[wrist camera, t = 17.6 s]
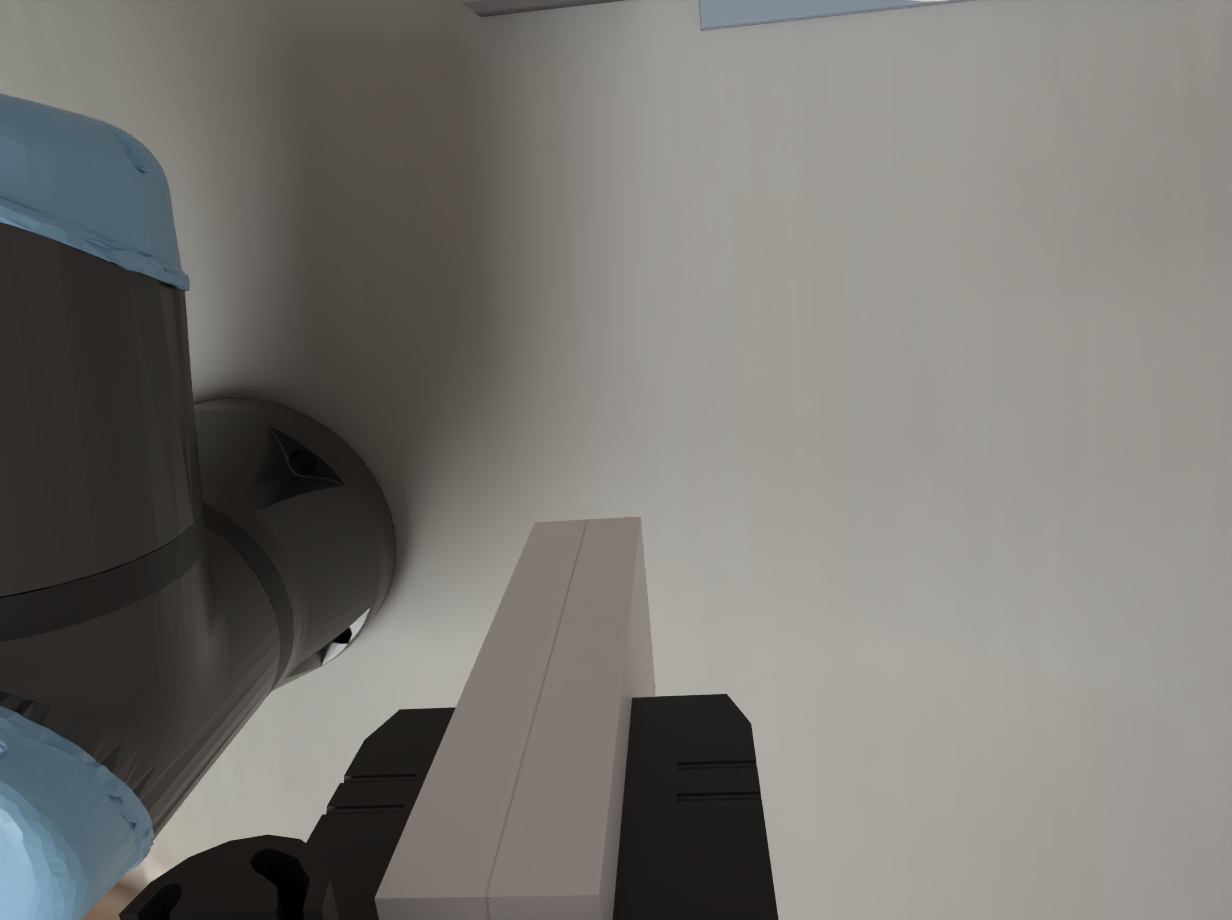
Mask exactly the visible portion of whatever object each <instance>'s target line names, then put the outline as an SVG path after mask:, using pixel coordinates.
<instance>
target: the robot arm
mask: <svg viewBox="0 0 1232 920" xmlns="http://www.w3.org/2000/svg"><path fill="white" fill-rule="evenodd" d="M189 284H190V282H189V278H188V275H186V274H185V273H184V272H183V271H182V268H181V261H180V255H179V249H178V243H177V237H176V231H175V225H174V219H173V211H172V204H171V196H170V189H169V185H168V182H167V178H166V176H165V174H164V171H163V169H162V167H161V166H160V164H159V162H158V161H157V159H156V158H155V157H154V156H153V154H152V153H151V152H150V151H149V150H148V149H147V148H146V147H145V146H144V145H143V144H142V143H141V142H139V141H138V140H137V139H136V138H134V137H133V136H131V135H130V134H128V133H127V132H125V131H123V130H121V129H119V128H117V127H115V126H113V125H111V124H108V123H106V122H103V121H100V120H97V119H94V118H91V117H87V116H84V115H80V114H77V113H73V112H70V111H66V110H62V109H59V108H55V107H51V106H48V105H44V104H41V103H36V102H32V101H28V100H24V99H20V98H16V97H12V96H8V95H4V94H0V920H82V919H83V918H84V917H85V916H86V915H87V914H88V913H89V912H90V911H91V910H92V908H93V907H94V906H95V905H96V904H97V903H98V902H99V901H100V900H101V899H102V898H103V896H104V895H105V894H106V893H107V892H108V891H109V890H110V889H111V888H112V887H113V886H114V885H115V884H116V883H117V882H118V881H119V880H120V879H121V878H122V877H123V876H124V875H125V874H126V873H127V872H129V871H131V870H133V869H135V868H136V867H137V866H138V865H139V864H140V863H141V862H142V861H143V860H144V858H145V857H146V856H147V854H148V853H149V851H150V847H151V846H152V845H153V842H152V841H153V840H154V839H155V837H156V836H157V835H158V834H159V832H160V831H161V830H162V828H163V827H164V826H165V825H166V823H167V822H168V821H169V820H170V818H171V817H172V816H173V814H174V813H175V812H176V811H177V809H178V808H179V807H180V806H181V804H182V803H183V802H184V800H185V799H186V798H187V797H188V795H189V794H190V793H191V792H192V790H193V789H194V788H195V786H196V785H197V784H198V783H199V781H200V780H201V779H202V778H203V776H204V775H205V774H206V773H207V771H208V770H209V769H210V768H211V766H212V765H213V764H214V763H215V761H216V760H217V759H218V758H219V756H220V755H221V754H222V753H223V751H224V750H225V749H226V748H227V746H228V745H229V744H230V743H231V741H232V740H233V739H234V738H235V736H236V735H237V734H238V733H239V731H240V730H241V729H242V728H243V726H244V725H245V724H246V723H247V721H248V720H249V719H250V718H251V716H252V715H253V714H254V713H255V711H256V710H257V709H258V708H259V706H260V705H261V704H262V702H263V701H264V700H265V698H266V697H267V696H268V695H269V693H270V692H271V691H273V690H275V689H277V688H279V687H281V686H283V685H285V684H287V683H289V682H291V681H293V680H295V679H297V678H299V677H301V676H303V675H305V674H307V673H309V672H311V671H313V670H315V669H317V668H319V667H321V666H323V665H324V664H326V663H328V662H329V661H331V660H333V659H334V658H335V657H337V656H338V655H340V654H341V653H342V652H343V651H344V650H346V649H347V648H348V647H349V646H350V645H351V644H352V643H353V642H354V641H355V640H356V639H357V638H358V637H359V636H360V634H361V633H362V632H363V630H364V629H365V628H366V626H367V625H368V623H369V622H370V621H371V619H372V618H373V617H374V615H375V614H376V612H377V611H378V609H379V608H380V606H381V604H382V603H383V601H384V599H385V597H386V594H387V592H388V589H389V587H390V584H391V580H392V576H393V571H394V566H395V548H396V547H395V535H394V528H393V523H392V519H391V515H390V512H389V508H388V506H387V503H386V500H385V498H384V496H383V494H382V491H381V489H380V487H379V486H378V484H377V482H376V480H375V478H374V477H373V475H372V474H371V472H370V471H369V469H368V468H367V467H366V465H365V464H364V463H363V461H362V460H361V459H360V458H359V457H358V456H357V454H356V453H355V452H354V451H353V450H352V449H351V448H350V447H349V446H348V445H347V444H346V443H345V442H344V441H343V440H341V439H340V438H339V437H338V436H337V435H335V434H334V433H333V432H331V431H330V430H329V429H327V428H326V427H324V426H323V425H321V424H320V423H318V422H317V421H315V420H313V419H311V418H310V417H308V416H306V415H304V414H302V413H299V412H297V411H295V410H292V409H290V408H287V407H284V406H281V405H278V404H274V403H270V402H266V401H261V400H254V399H245V398H224V399H215V400H210V401H205V402H201V403H197V404H193V394H192V382H191V368H190V355H189V341H188V328H187V314H186V301H185V291H189ZM119 917H120V920H778V914H777V906H776V899H775V892H774V885H773V878H772V871H771V863H770V856H769V849H768V842H767V835H766V828H765V820H764V813H763V806H762V800H761V792H760V784H759V777H758V770H757V766H756V756H755V749H754V741H753V734H752V727H751V723H750V722H749V720H748V719H747V718H746V717H745V716H744V714H743V713H742V712H741V711H740V710H739V708H738V707H737V706H736V705H735V703H734V702H733V701H732V700H731V699H730V697H729V696H728V695H727V694H714V695H687V696H660V697H655V677H654V666H653V654H652V643H651V631H650V619H649V608H648V596H647V585H646V573H645V561H644V550H643V538H642V527H641V517H625V518H608V519H590V520H573V521H556V522H538V523H534V525H533V528H532V530H531V532H530V535H529V537H528V540H527V542H526V544H525V547H524V549H523V551H522V554H521V556H520V558H519V561H518V563H517V565H516V568H515V570H514V572H513V575H512V577H511V579H510V582H509V584H508V586H507V589H506V591H505V593H504V596H503V598H502V600H501V603H500V605H499V608H498V610H497V612H496V615H495V617H494V619H493V622H492V624H491V626H490V629H489V631H488V633H487V636H486V638H485V640H484V643H483V645H482V647H481V650H480V652H479V654H478V657H477V659H476V661H475V664H474V666H473V669H472V671H471V673H470V676H469V678H468V680H467V683H466V685H465V687H464V690H463V692H462V694H461V697H460V699H459V701H458V704H457V706H456V708H429V709H402V710H399V711H398V712H397V713H395V714H394V715H393V716H392V717H391V718H390V719H388V720H387V721H386V722H385V723H384V724H383V725H381V726H380V727H379V728H378V729H377V730H376V731H375V732H373V733H372V734H371V735H370V736H369V737H368V738H366V739H365V740H364V742H363V744H362V745H361V747H360V749H359V751H358V752H357V754H356V756H355V758H354V760H353V761H352V763H351V765H350V767H349V768H348V770H347V772H346V774H345V775H344V783H340V784H339V786H338V788H337V789H336V791H335V793H334V795H333V797H332V798H331V800H330V802H329V804H328V805H327V813H326V815H322V816H321V818H320V819H319V821H318V823H317V825H316V827H315V828H314V830H313V832H312V834H311V835H310V837H309V839H308V841H307V842H306V843H305V842H303V841H302V840H301V839H295V838H288V837H281V836H274V835H263V836H257V837H251V838H245V839H239V840H232V841H228V842H226V843H223V844H221V845H218V846H216V847H213V848H211V849H209V850H206V851H204V852H201V853H199V854H196V855H194V856H191V857H189V858H187V859H186V860H184V861H183V862H181V863H180V864H178V865H177V866H175V867H173V868H172V869H170V870H169V871H167V872H166V873H164V874H163V875H161V876H160V877H158V878H157V879H155V880H154V881H152V882H150V883H149V884H148V885H147V886H146V888H145V889H144V890H143V891H142V892H141V893H140V894H139V895H138V896H137V897H136V898H135V899H134V900H133V901H132V902H131V903H130V904H129V905H128V906H127V907H126V908H125V909H124V910H123V911H122V912H121V913H120V914H119Z"/></svg>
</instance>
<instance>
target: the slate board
mask: <svg viewBox="0 0 1232 920" xmlns="http://www.w3.org/2000/svg"><path fill="white" fill-rule="evenodd" d="M964 1H973V0H699V2H700V21H701V31H703V30H712V29H721V28H730V27H739V26H748V25H757V24H766V23H775V22H784V21H793V20H802V19H811V18H820V17H829V16H838V15H847V14H856V13H865V12H874V11H883V10H892V9H901V8H910V7H919V6H928V5H937V4H946V3H955V2H964Z"/></svg>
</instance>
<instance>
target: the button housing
mask: <svg viewBox="0 0 1232 920" xmlns="http://www.w3.org/2000/svg"><path fill="white" fill-rule="evenodd" d="M614 1H623V0H464V3H465V4H466V5H467V6H469V7H470V8H471V9H472V10H473V11H474V12H475V13H477V14H478V15H479V16H480V17H484V16H493V15H502V14H510V13H519V12H528V11H536V10H545V9H554V8H562V7H571V6H580V5H588V4H597V3H606V2H614Z"/></svg>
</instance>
